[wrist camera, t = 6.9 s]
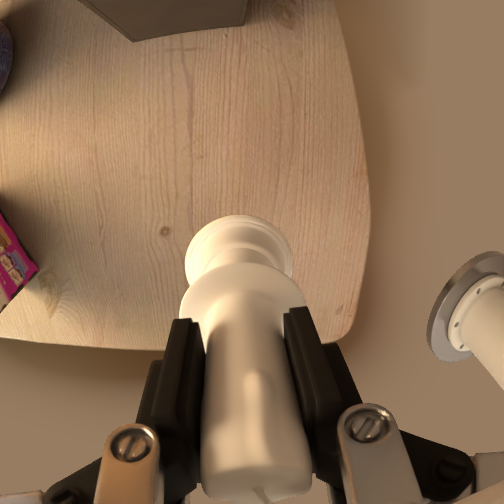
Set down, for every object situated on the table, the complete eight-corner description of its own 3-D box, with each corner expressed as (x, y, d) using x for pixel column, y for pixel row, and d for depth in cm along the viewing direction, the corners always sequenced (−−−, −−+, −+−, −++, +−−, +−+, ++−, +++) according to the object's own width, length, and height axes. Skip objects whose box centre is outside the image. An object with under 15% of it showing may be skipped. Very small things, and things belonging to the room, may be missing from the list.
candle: (309, 235, 16) (438, 444, 4) (269, 322, 17) (310, 538, 6) (204, 198, 15) (140, 416, 3) (173, 294, 16) (121, 521, 5)
